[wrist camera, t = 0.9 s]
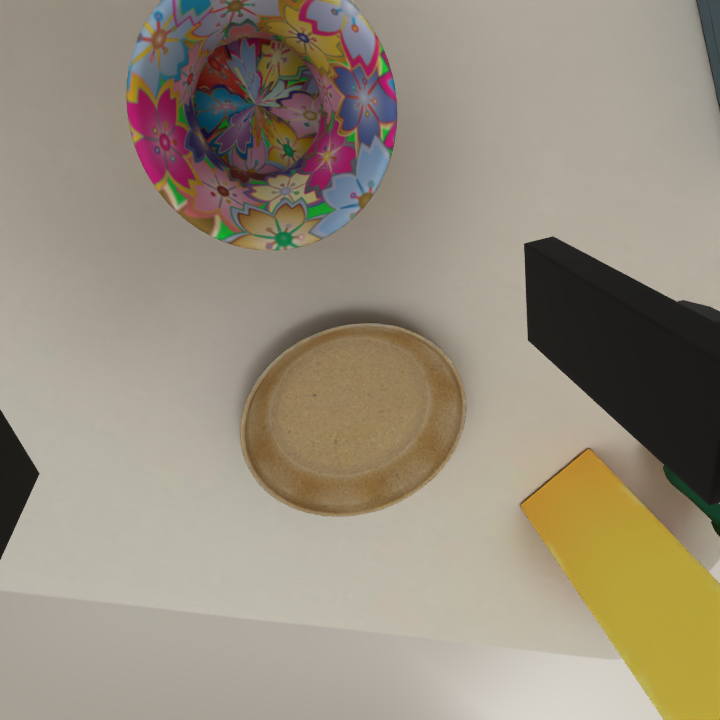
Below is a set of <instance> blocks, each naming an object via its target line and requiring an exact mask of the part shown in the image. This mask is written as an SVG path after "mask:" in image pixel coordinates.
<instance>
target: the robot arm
mask: <svg viewBox="0 0 720 720" xmlns="http://www.w3.org/2000/svg"><path fill="white" fill-rule="evenodd" d="M524 251H525V276H526V302H527V327H528V341H529V342H531V343H532V344H533V345H534V346H535V347H536V348H537V349H538V350H539V351H540V352H541V353H543V354H544V355H545V356H546V357H547V358H548V359H549V360H550V361H551V362H552V363H554V364H555V365H556V366H557V367H558V368H559V369H560V370H561V371H562V372H563V373H564V374H566V375H567V376H568V377H569V378H570V379H571V380H572V381H573V382H574V383H575V384H576V385H578V386H579V387H580V388H581V389H582V390H583V391H584V392H585V393H586V394H587V395H588V396H590V397H591V398H592V399H593V400H594V401H595V402H596V403H597V404H598V405H599V406H601V407H602V408H603V409H604V410H605V411H606V412H607V413H608V414H609V415H610V416H611V417H613V418H614V419H615V420H616V421H617V422H618V423H619V424H620V425H621V426H622V427H623V428H625V429H626V430H627V431H628V432H629V433H630V434H631V435H632V436H633V437H634V438H636V439H637V440H638V441H639V442H640V443H641V444H642V445H643V446H644V447H645V448H646V449H648V450H649V451H650V452H651V453H652V454H653V455H654V456H655V457H656V458H657V459H658V460H660V461H661V462H662V463H663V464H664V465H665V466H666V467H667V468H668V469H669V470H671V471H672V472H673V473H674V474H675V475H676V476H677V477H678V478H679V479H680V480H681V481H683V482H684V483H685V484H686V485H687V486H688V487H689V488H690V489H691V490H692V491H693V492H695V493H696V494H697V495H698V496H699V497H700V498H701V499H702V500H703V501H704V502H705V503H707V504H708V505H709V506H710V505H713V504H717V503H720V312H719V311H717V310H715V309H713V308H711V307H708V306H704V305H700V304H696V303H692V302H688V301H684V300H682V301H678V302H676V301H674V300H672V299H671V298H669V297H667V296H665V295H663V294H661V293H659V292H657V291H655V290H653V289H652V288H650V287H648V286H646V285H644V284H642V283H640V282H638V281H636V280H635V279H633V278H631V277H629V276H627V275H625V274H623V273H621V272H619V271H617V270H616V269H614V268H612V267H610V266H608V265H606V264H604V263H602V262H600V261H598V260H597V259H595V258H593V257H591V256H589V255H587V254H585V253H583V252H581V251H580V250H578V249H576V248H574V247H572V246H570V245H568V244H566V243H564V242H562V241H561V240H559V239H557V238H555V237H549V238H545V239H541V240H537V241H533V242H529V243H525V244H524ZM38 476H39V472H38V470H37V469H36V467H35V465H34V464H33V462H32V461H31V459H30V457H29V456H28V454H27V452H26V451H25V449H24V447H23V446H22V444H21V443H20V441H19V439H18V438H17V436H16V434H15V433H14V431H13V430H12V428H11V426H10V425H9V423H8V421H7V420H6V418H5V416H4V415H3V413H2V412H1V410H0V559H1V557H2V555H3V553H4V550H5V548H6V546H7V544H8V542H9V539H10V537H11V535H12V533H13V531H14V528H15V526H16V524H17V522H18V520H19V517H20V515H21V513H22V511H23V509H24V507H25V504H26V502H27V500H28V498H29V496H30V493H31V491H32V489H33V487H34V485H35V482H36V480H37V478H38Z"/></svg>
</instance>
